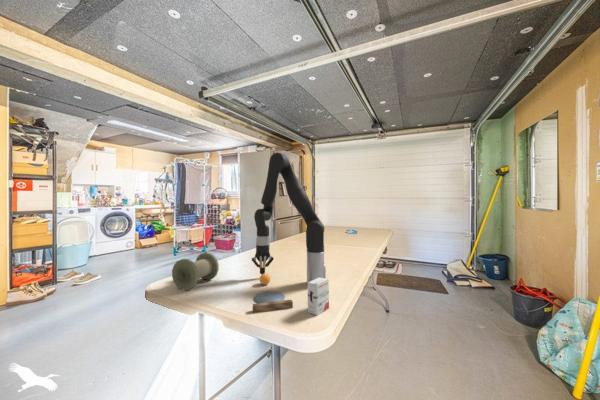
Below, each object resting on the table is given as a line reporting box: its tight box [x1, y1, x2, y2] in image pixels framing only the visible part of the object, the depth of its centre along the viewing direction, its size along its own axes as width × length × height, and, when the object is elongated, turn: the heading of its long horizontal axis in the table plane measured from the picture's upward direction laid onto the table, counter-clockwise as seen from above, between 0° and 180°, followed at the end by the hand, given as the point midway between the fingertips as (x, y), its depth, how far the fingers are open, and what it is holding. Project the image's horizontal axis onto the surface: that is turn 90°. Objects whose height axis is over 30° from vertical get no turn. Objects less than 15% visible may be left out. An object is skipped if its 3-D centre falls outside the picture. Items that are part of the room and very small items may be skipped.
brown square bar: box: [252, 299, 294, 314], centre depth 89 cm, size 16×2×2 cm, turn 105°
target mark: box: [253, 290, 286, 304], centre depth 100 cm, size 14×14×1 cm
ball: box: [259, 273, 271, 286], centre depth 116 cm, size 6×6×6 cm
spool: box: [171, 252, 220, 291], centre depth 117 cm, size 16×15×15 cm
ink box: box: [307, 277, 330, 316], centre depth 89 cm, size 8×5×12 cm, turn 140°
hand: (262, 274), depth 126 cm, fingers closed
